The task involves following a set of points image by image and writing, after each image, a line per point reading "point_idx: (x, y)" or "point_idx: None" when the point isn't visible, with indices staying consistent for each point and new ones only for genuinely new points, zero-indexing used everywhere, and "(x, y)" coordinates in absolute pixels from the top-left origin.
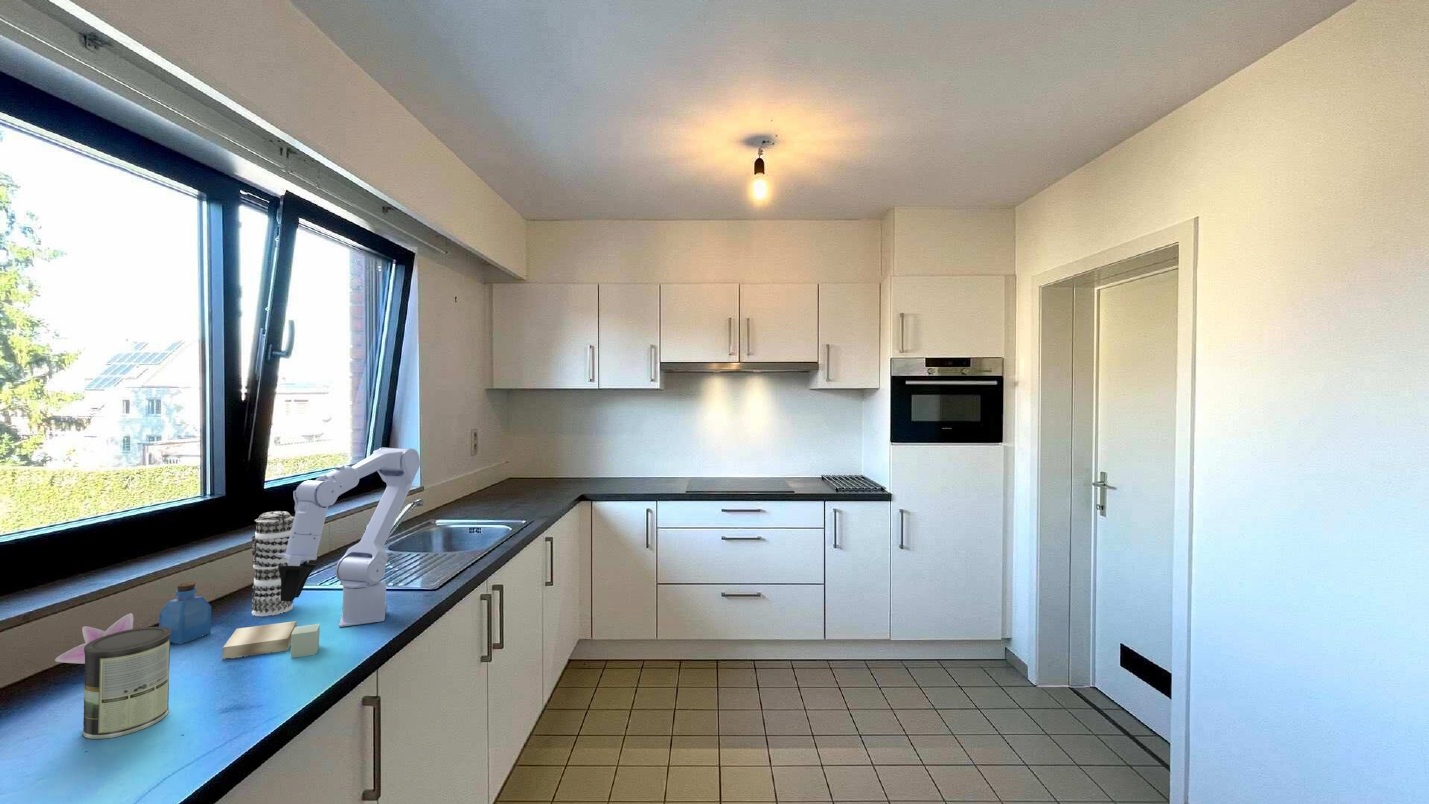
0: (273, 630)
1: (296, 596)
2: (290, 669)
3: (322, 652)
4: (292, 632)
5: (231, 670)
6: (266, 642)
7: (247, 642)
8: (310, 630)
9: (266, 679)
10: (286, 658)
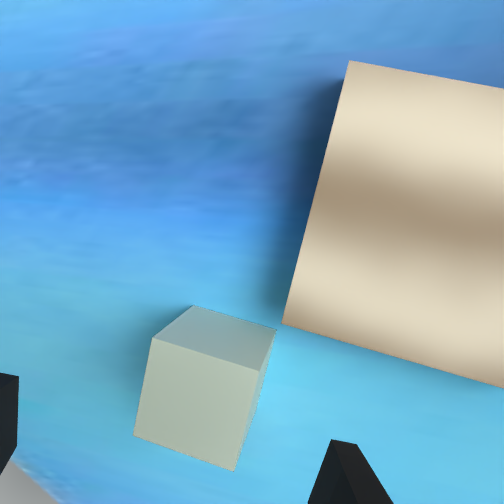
0: (460, 285)
1: (311, 501)
2: (84, 289)
3: None
4: (178, 347)
5: (194, 114)
6: (302, 241)
7: (347, 165)
8: (158, 416)
9: (42, 216)
10: (196, 292)
